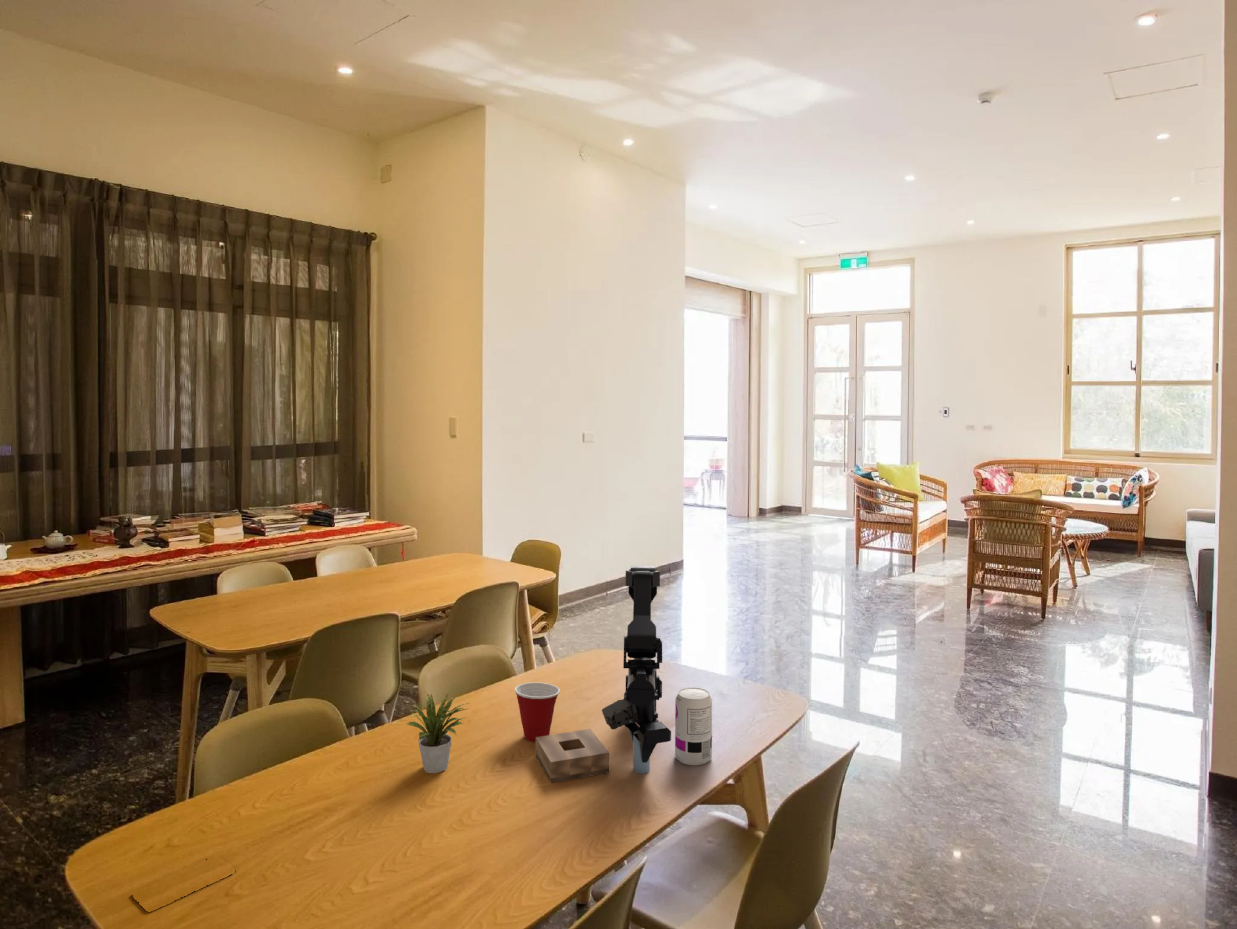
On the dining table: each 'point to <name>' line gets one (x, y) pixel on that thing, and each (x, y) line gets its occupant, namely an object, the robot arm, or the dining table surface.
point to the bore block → (572, 755)
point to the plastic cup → (536, 708)
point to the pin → (639, 758)
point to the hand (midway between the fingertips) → (641, 758)
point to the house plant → (436, 734)
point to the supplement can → (693, 726)
